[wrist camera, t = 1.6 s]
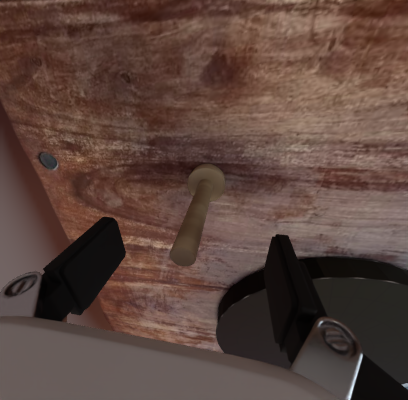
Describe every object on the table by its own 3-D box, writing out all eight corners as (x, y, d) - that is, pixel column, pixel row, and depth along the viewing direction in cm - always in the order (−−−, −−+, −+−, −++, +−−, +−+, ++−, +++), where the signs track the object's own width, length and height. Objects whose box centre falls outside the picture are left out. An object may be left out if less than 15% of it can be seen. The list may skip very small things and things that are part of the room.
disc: (523, 277, 18) (571, 307, 15) (371, 380, 33) (383, 404, 30) (226, 240, 21) (225, 259, 19) (212, 349, 36) (210, 368, 34)
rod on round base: (189, 162, 17) (144, 227, 9) (226, 164, 17) (218, 234, 8) (190, 195, 19) (154, 275, 10) (224, 197, 18) (215, 284, 10)
